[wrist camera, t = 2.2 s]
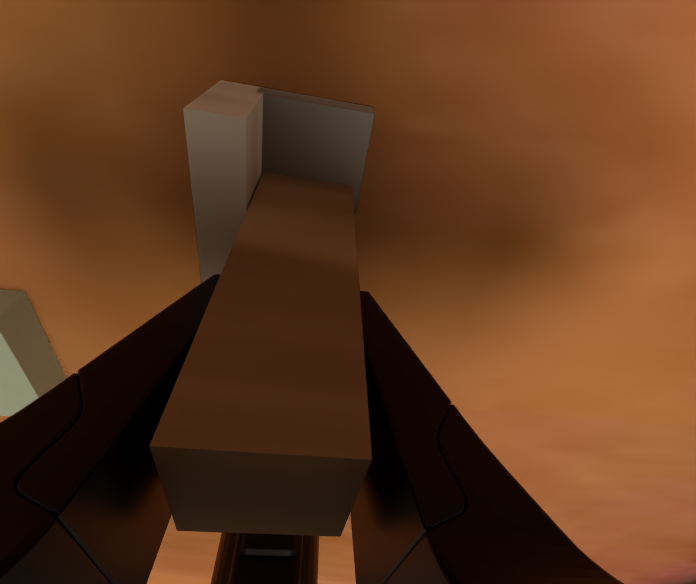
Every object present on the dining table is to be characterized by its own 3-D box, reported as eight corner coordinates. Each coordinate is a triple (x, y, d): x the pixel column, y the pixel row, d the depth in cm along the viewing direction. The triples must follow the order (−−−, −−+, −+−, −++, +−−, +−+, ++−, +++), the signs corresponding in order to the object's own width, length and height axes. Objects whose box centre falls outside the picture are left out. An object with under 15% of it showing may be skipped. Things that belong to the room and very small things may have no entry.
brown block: (337, 289, 14) (337, 573, 7) (229, 276, 14) (118, 568, 7) (372, 106, 10) (446, 350, 3) (220, 79, 10) (-74, 298, 3)
